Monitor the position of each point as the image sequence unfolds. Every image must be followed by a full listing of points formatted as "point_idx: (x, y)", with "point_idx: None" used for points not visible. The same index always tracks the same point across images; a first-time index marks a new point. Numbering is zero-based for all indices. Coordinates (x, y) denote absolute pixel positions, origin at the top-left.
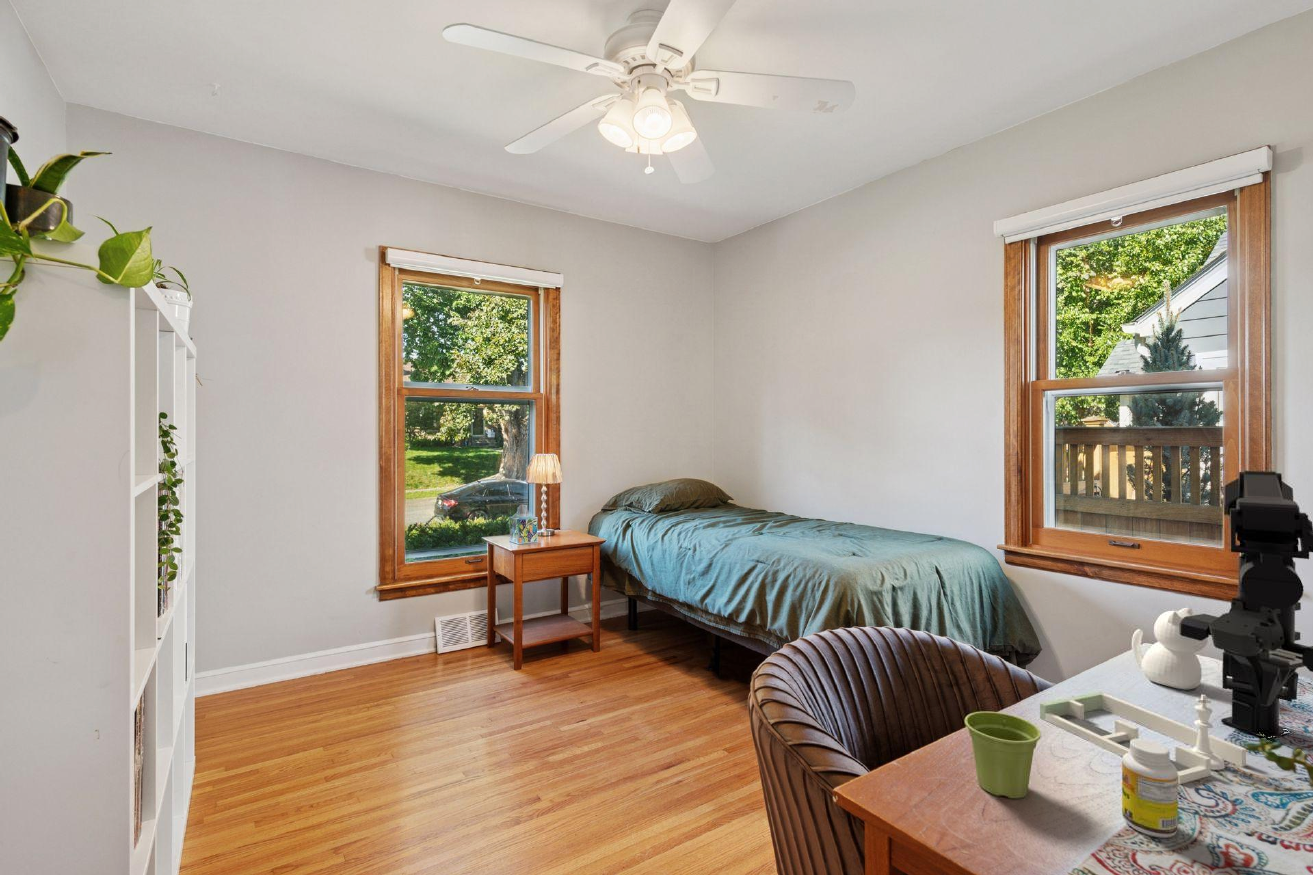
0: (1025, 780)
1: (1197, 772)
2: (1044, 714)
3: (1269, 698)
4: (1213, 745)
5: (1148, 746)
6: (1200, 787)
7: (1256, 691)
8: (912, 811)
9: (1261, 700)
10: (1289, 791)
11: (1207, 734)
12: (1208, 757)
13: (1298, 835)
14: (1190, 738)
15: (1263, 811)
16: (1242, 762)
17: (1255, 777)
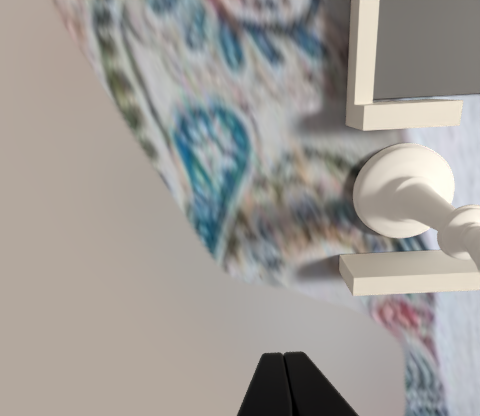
0: None
1: (354, 60)
2: None
3: (243, 403)
4: (418, 264)
5: None
6: (316, 18)
7: (332, 412)
8: None
9: (291, 369)
10: (224, 237)
11: (433, 221)
12: (389, 186)
13: (68, 19)
14: None
15: (175, 61)
16: (342, 262)
17: (294, 231)
